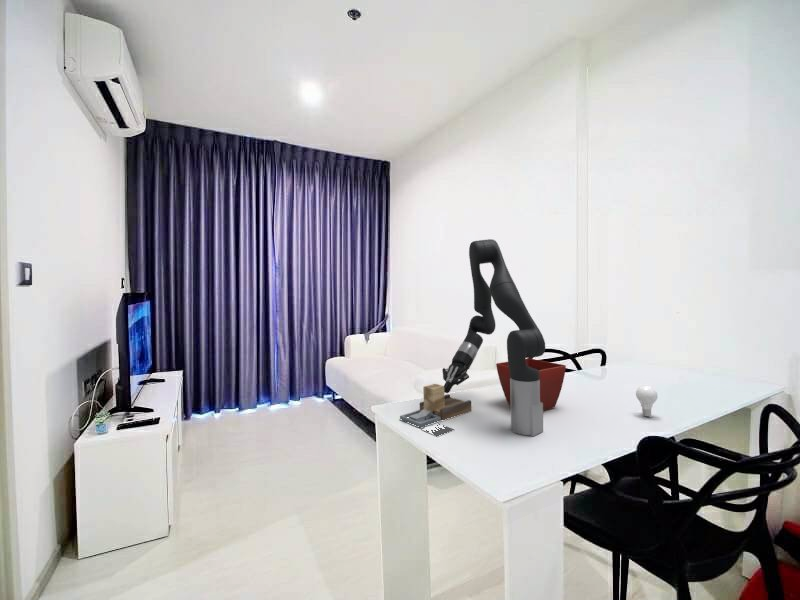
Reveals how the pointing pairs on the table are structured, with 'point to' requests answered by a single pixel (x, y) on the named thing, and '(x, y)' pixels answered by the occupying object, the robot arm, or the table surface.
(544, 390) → the plant pot
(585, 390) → the table surface
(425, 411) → the chip
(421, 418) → the chip
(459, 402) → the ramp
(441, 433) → the mat
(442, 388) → the tall wooden block
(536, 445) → the table surface
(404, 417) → the tray
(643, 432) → the table surface
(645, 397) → the lightbulb
